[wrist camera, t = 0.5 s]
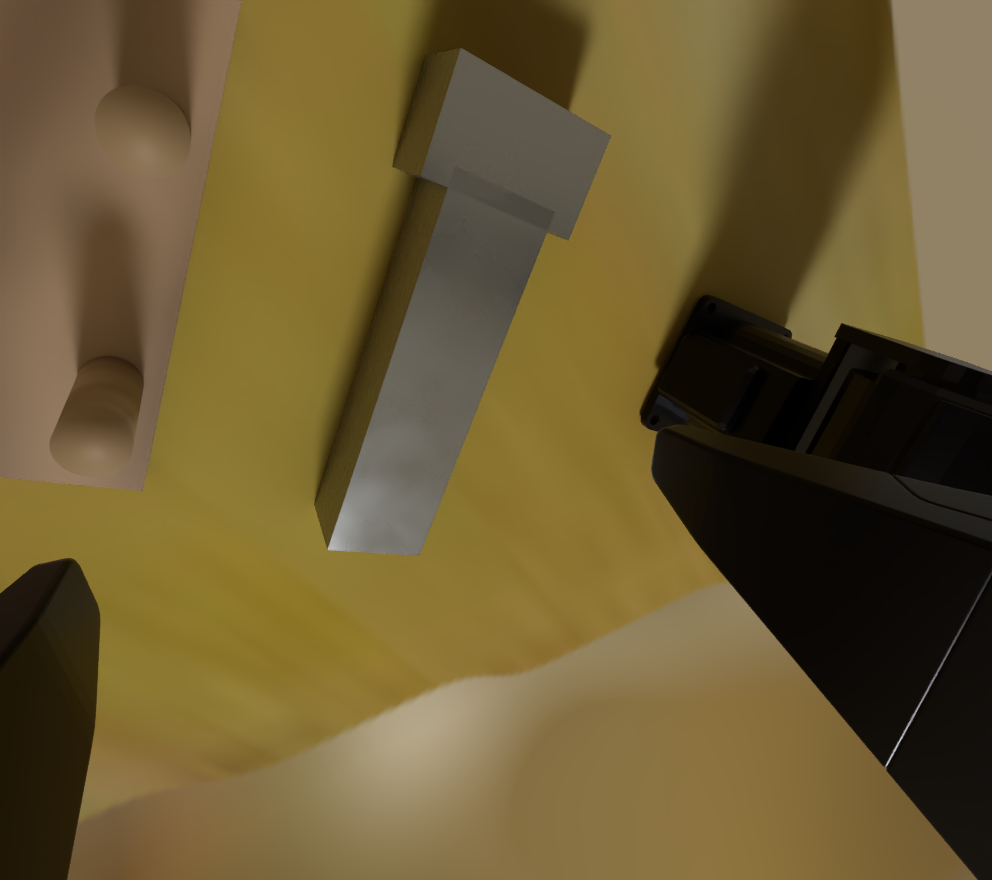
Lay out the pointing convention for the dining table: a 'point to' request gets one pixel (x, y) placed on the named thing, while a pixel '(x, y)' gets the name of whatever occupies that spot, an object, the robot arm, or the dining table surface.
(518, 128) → the spanner
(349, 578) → the dining table surface
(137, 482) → the rack
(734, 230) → the dining table surface
